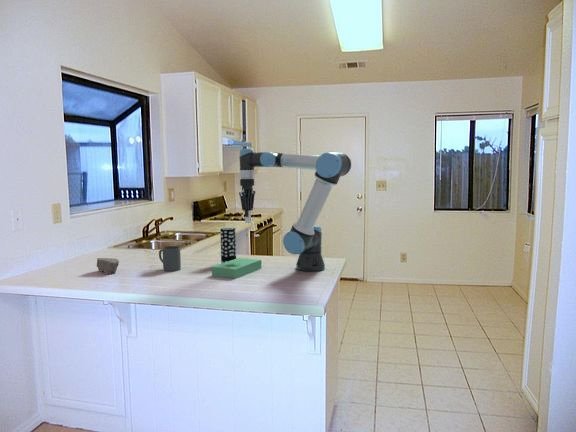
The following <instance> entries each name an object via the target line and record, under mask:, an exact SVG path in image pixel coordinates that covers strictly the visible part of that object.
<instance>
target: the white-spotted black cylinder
mask: <svg viewBox="0 0 576 432" xmlns="http://www.w3.org/2000/svg"><path fill="white" fill-rule="evenodd" d="M219 231H220V259H221V260H220V264H222V263H225V262H228V261H231V260H234V259H237V244H236V243H237V241H236V238H237V236H236V235H237V234H236V232H237V231H236V228H235V227H223V228H220V230H219Z"/></svg>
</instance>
